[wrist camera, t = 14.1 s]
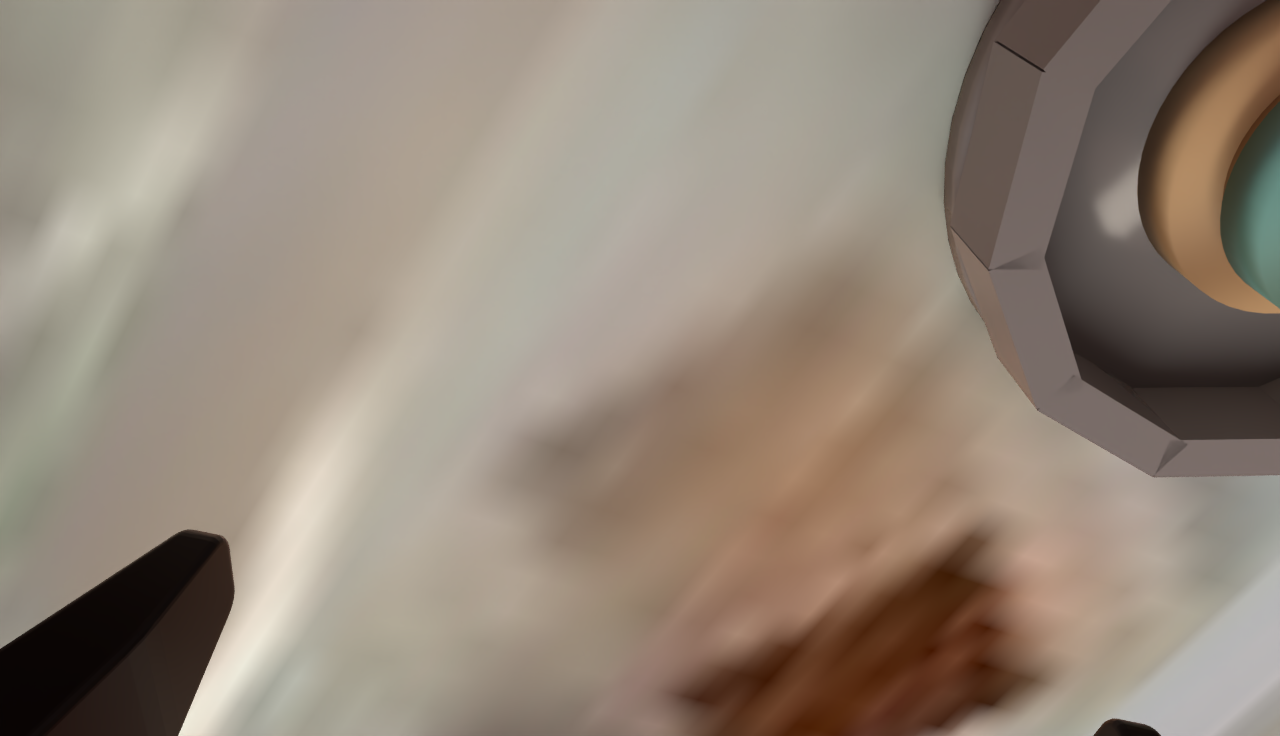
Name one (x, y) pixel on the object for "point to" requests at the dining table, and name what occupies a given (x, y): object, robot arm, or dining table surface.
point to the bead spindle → (1221, 167)
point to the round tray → (1101, 239)
